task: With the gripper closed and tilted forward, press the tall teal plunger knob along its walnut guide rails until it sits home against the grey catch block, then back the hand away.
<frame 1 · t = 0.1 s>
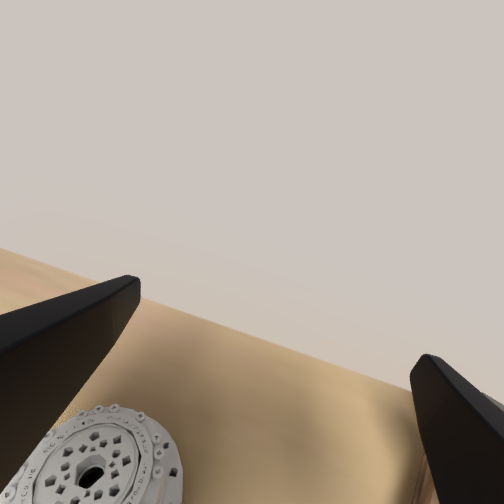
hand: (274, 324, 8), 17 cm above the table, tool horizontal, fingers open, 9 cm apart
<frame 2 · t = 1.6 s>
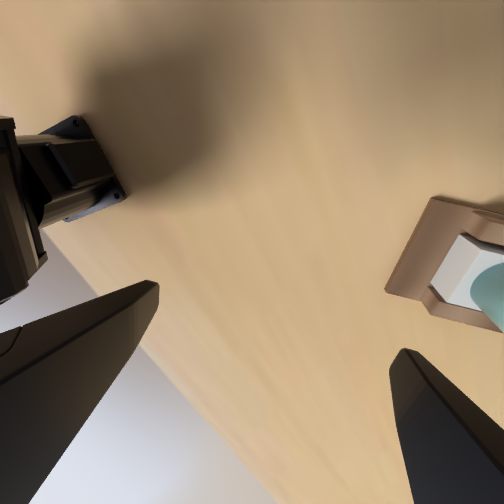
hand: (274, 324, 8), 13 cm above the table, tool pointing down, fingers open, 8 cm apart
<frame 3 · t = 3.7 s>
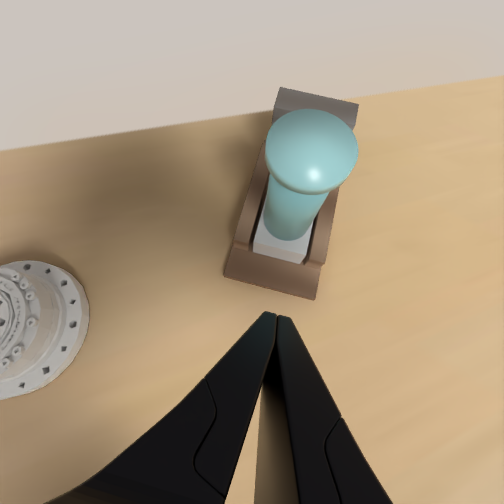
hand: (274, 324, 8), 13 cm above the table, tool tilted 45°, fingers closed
mount: (291, 195, 25), on the table
knob: (293, 200, 18), point 6 cm above the table, slide at 4.0 cm
mechanical component: (29, 325, 22), on the table
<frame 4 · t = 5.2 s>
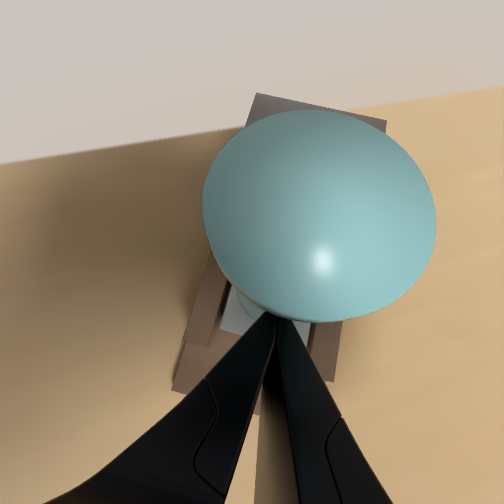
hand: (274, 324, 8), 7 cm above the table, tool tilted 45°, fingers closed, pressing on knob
mount: (280, 250, 17), on the table
knob: (282, 271, 10), point 6 cm above the table, slide at 3.0 cm, touching gripper
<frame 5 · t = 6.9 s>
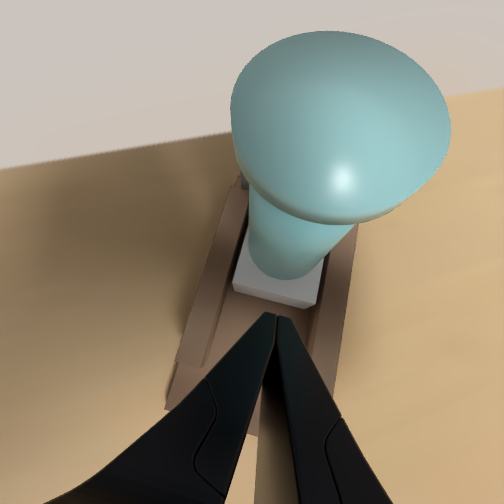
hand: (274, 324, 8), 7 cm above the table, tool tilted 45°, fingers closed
mount: (277, 261, 16), on the table
knob: (294, 219, 11), point 6 cm above the table, slide at 0.0 cm
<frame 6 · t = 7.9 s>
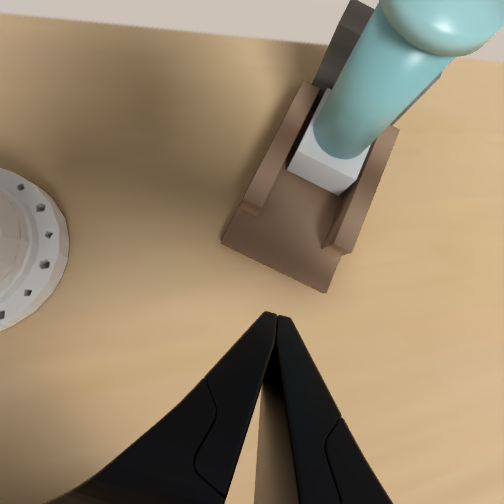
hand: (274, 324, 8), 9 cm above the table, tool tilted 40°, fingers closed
mount: (321, 159, 20), on the table
knob: (366, 98, 14), point 6 cm above the table, slide at 0.0 cm
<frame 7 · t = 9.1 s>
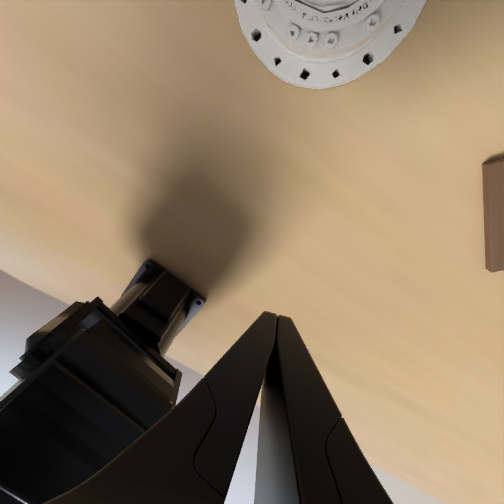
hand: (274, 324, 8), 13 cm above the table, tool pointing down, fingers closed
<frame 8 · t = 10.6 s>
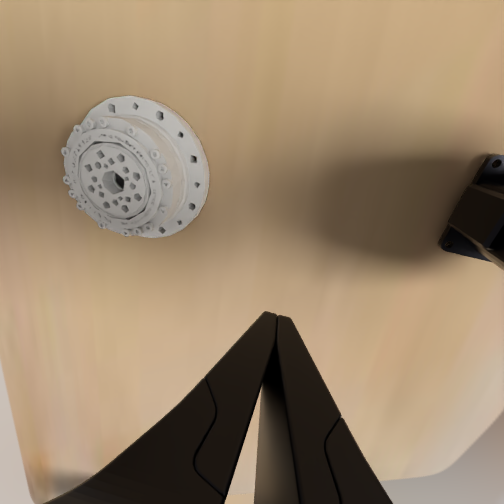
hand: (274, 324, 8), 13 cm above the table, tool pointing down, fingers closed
mechanical component: (149, 170, 21), on the table
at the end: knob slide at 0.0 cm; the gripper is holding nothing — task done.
